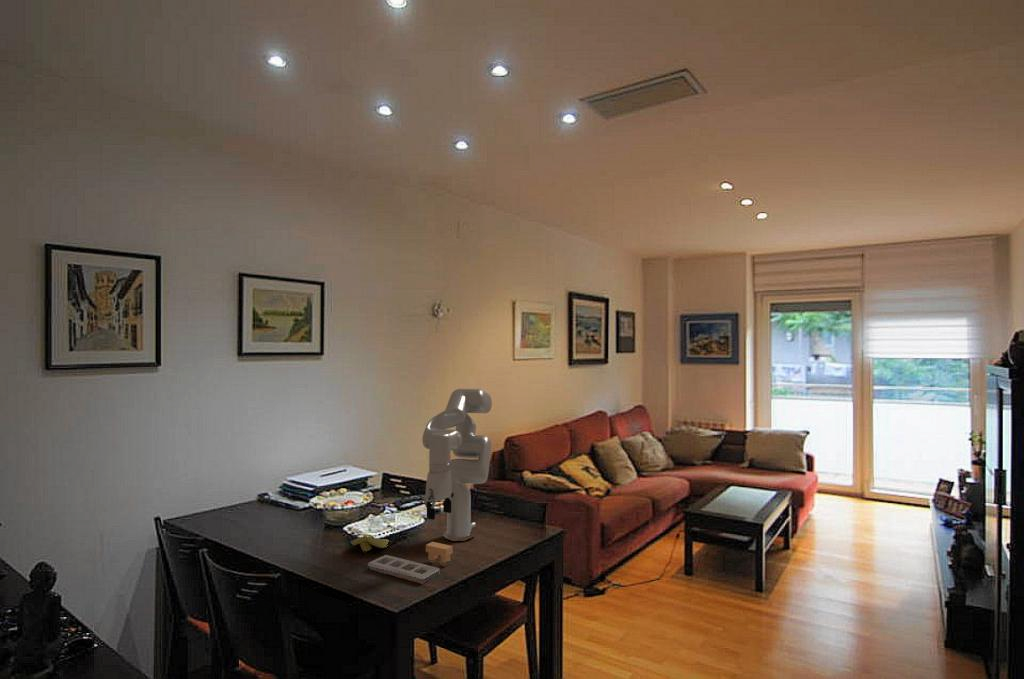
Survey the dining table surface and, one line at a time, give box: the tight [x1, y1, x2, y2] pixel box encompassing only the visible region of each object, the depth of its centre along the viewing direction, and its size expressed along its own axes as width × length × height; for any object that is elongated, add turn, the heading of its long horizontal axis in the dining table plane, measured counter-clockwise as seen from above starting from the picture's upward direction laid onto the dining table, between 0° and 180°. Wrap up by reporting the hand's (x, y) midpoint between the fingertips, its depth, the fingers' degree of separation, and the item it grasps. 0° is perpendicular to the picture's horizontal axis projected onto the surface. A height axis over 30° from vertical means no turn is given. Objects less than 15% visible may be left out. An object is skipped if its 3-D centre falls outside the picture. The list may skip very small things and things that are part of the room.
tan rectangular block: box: [425, 541, 454, 563], centre depth 215 cm, size 4×9×6 cm, turn 60°
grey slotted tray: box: [367, 554, 440, 579], centre depth 207 cm, size 9×24×2 cm, turn 60°
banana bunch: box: [350, 524, 393, 552], centre depth 232 cm, size 20×7×10 cm
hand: (439, 515), depth 215 cm, fingers open, 9 cm apart
